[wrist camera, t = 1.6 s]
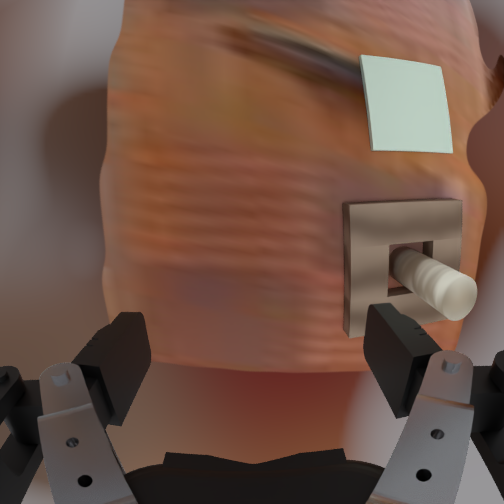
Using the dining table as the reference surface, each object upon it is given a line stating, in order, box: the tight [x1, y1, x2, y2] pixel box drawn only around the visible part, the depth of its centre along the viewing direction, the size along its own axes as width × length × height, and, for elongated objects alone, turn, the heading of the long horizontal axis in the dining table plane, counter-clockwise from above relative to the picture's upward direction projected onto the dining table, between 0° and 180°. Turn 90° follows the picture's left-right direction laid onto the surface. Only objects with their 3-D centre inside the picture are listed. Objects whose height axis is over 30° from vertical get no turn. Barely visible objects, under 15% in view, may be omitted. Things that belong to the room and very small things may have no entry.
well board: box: [343, 199, 462, 338], centre depth 36 cm, size 16×16×2 cm
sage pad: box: [359, 55, 453, 153], centre depth 32 cm, size 12×12×1 cm
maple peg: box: [389, 246, 477, 321], centre depth 31 cm, size 4×4×13 cm
